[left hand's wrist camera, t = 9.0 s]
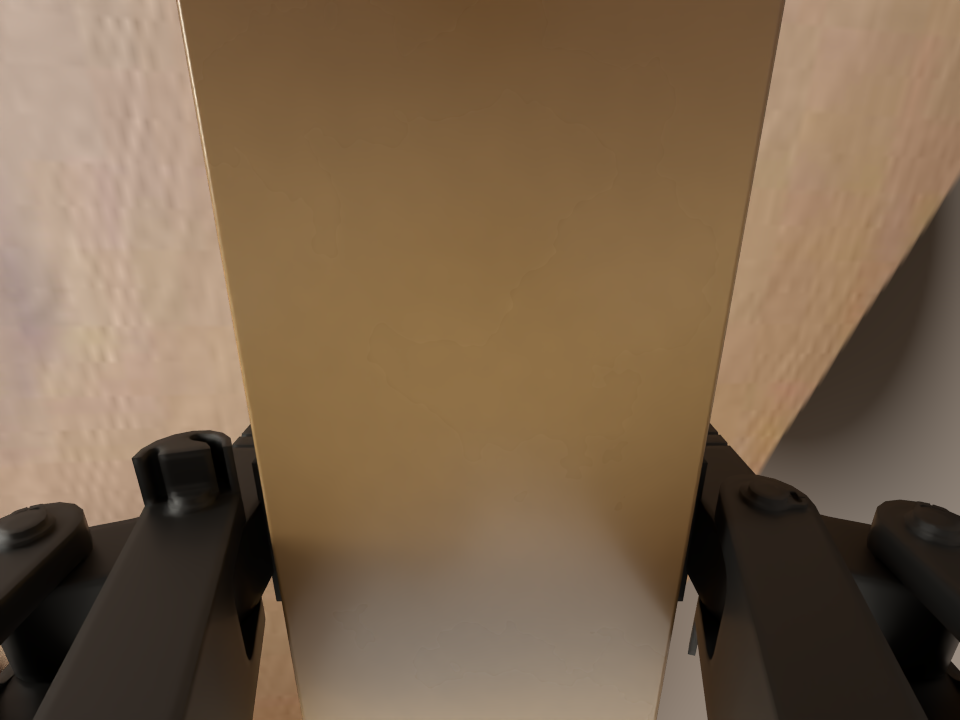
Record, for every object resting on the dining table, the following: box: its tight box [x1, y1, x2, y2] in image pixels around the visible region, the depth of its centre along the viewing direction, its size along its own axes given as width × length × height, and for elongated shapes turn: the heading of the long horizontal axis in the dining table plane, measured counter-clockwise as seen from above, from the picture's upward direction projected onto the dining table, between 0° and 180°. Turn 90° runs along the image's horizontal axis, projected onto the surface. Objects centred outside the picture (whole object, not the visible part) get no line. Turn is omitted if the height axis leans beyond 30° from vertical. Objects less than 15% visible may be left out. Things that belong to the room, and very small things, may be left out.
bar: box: [176, 0, 785, 720], centre depth 8 cm, size 22×5×8 cm, turn 0°
